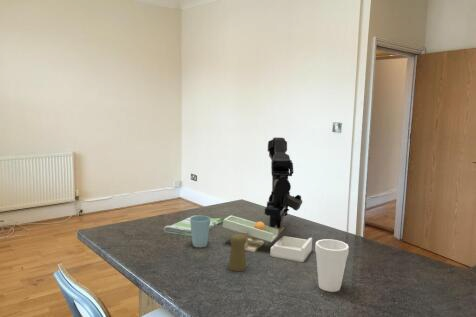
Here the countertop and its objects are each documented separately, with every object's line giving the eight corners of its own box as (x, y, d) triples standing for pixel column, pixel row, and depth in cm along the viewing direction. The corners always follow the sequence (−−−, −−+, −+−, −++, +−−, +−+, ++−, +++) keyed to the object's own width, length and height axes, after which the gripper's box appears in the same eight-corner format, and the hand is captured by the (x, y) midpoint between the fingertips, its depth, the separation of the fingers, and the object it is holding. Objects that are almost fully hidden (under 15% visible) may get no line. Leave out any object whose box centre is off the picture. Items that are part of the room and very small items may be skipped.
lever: (239, 216, 160) (240, 209, 160) (284, 229, 153) (286, 222, 152) (222, 226, 146) (223, 219, 145) (271, 242, 138) (272, 234, 137)
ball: (260, 232, 145) (254, 223, 146) (268, 227, 143) (262, 218, 144) (256, 235, 141) (250, 226, 142) (265, 230, 140) (258, 221, 140)
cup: (205, 240, 150) (205, 214, 149) (213, 246, 144) (214, 219, 142) (186, 243, 146) (187, 216, 145) (194, 249, 140) (195, 222, 138)
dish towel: (162, 232, 160) (162, 224, 159) (191, 218, 180) (191, 211, 180) (197, 239, 153) (197, 230, 152) (223, 224, 173) (223, 216, 173)
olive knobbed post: (248, 265, 128) (249, 233, 126) (243, 272, 122) (244, 239, 120) (231, 262, 129) (232, 231, 128) (225, 269, 124) (226, 236, 122)
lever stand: (245, 239, 152) (245, 223, 151) (264, 243, 149) (264, 226, 148) (234, 248, 142) (234, 231, 141) (254, 252, 139) (254, 234, 138)
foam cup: (339, 297, 107) (342, 253, 105) (308, 288, 112) (311, 246, 110) (349, 284, 115) (352, 243, 113) (319, 276, 120) (322, 237, 118)
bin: (280, 245, 147) (281, 232, 146) (311, 250, 142) (312, 237, 141) (270, 256, 136) (270, 242, 135) (303, 262, 131) (304, 248, 130)
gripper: (293, 195, 137) (292, 237, 139) (306, 186, 154) (305, 224, 156) (264, 192, 142) (263, 233, 144) (280, 183, 159) (279, 220, 161)
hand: (279, 227), depth 151 cm, fingers closed, pressing on lever
